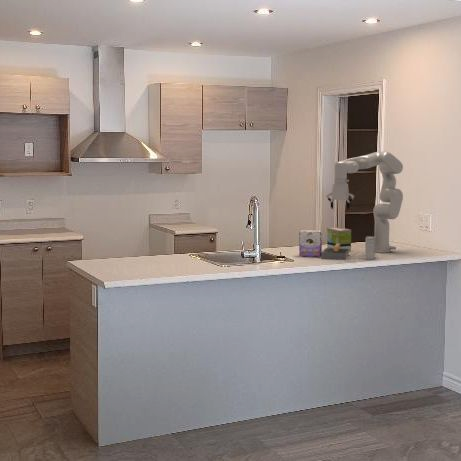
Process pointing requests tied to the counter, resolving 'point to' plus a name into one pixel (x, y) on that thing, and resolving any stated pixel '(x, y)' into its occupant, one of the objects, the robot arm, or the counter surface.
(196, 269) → the counter surface
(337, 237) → the tea box
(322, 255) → the breaker panel
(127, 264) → the counter surface
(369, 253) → the junction box
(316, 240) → the candy box
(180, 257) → the counter surface
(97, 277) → the counter surface
